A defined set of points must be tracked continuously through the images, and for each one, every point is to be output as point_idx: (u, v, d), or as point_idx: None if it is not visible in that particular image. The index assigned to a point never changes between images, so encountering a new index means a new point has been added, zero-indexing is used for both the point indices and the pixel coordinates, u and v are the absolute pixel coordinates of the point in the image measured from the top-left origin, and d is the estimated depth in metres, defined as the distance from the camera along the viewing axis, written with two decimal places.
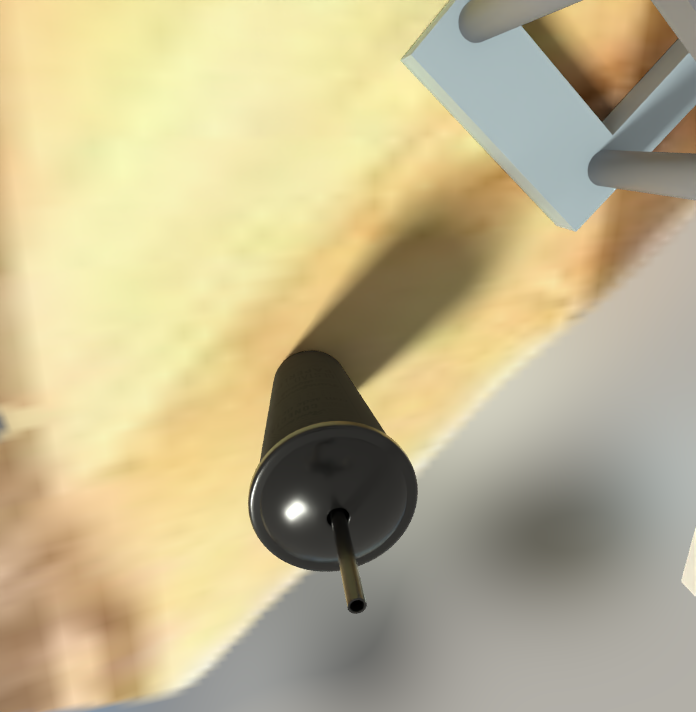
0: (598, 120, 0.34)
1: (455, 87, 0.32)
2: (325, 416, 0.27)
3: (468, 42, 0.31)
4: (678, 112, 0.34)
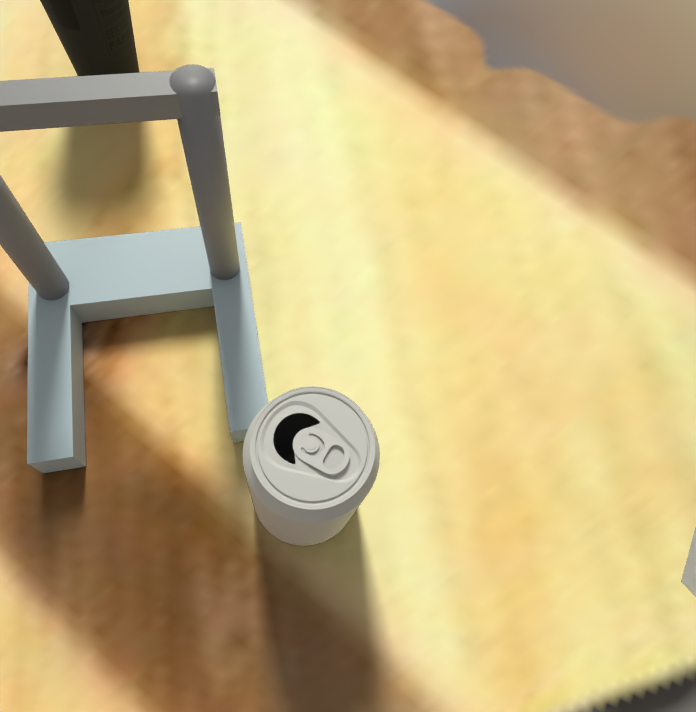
0: (90, 301, 0.39)
1: (199, 232, 0.42)
2: None
3: None
4: (35, 358, 0.37)
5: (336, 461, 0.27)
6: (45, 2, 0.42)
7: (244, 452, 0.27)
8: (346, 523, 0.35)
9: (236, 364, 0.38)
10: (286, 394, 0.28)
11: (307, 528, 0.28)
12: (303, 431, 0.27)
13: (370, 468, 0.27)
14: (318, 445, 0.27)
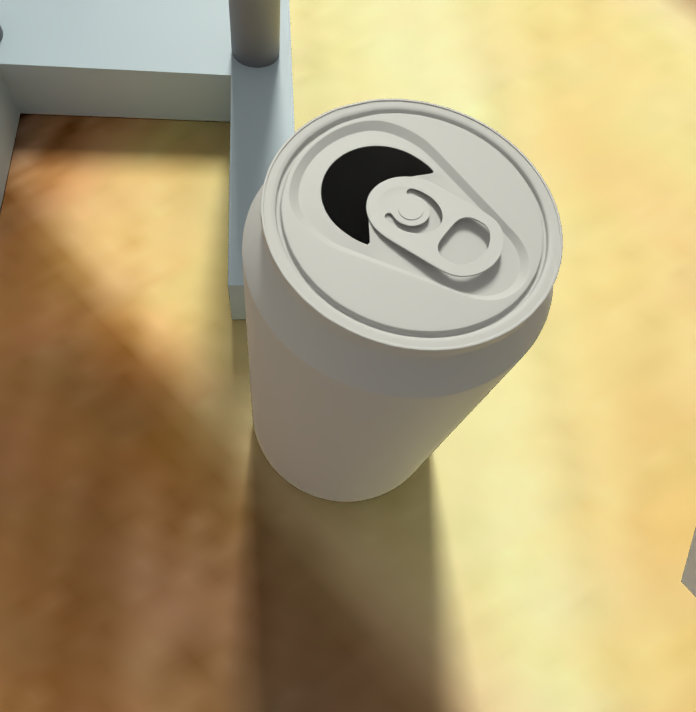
0: (30, 64, 0.24)
1: (223, 1, 0.26)
2: None
3: None
4: None
5: (469, 254, 0.11)
6: None
7: (248, 223, 0.12)
8: None
9: (254, 186, 0.22)
10: (361, 106, 0.12)
11: (367, 428, 0.13)
12: (393, 183, 0.11)
13: (550, 281, 0.11)
14: (428, 214, 0.11)
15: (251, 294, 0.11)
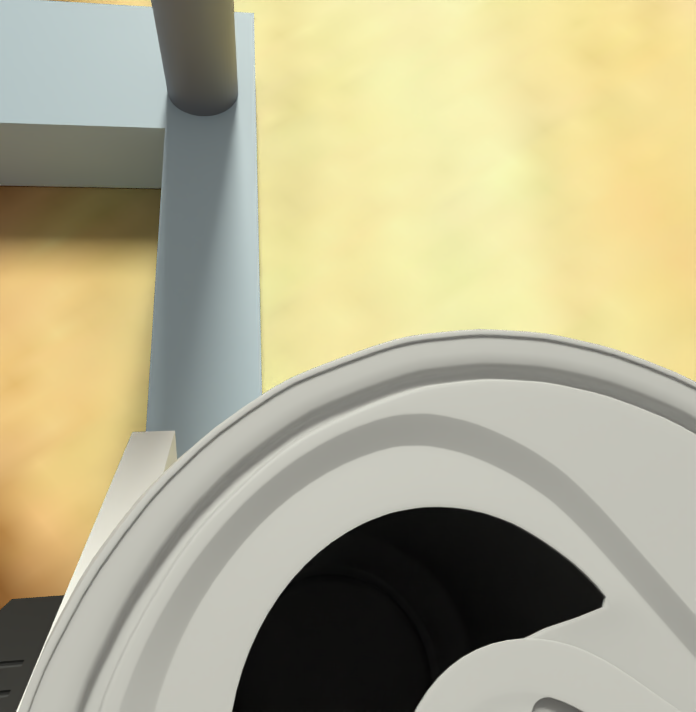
0: None
1: None
2: None
3: None
4: None
5: None
6: None
7: None
8: None
9: (194, 307, 0.14)
10: (368, 363, 0.04)
11: None
12: (485, 671, 0.03)
13: None
14: None
15: None
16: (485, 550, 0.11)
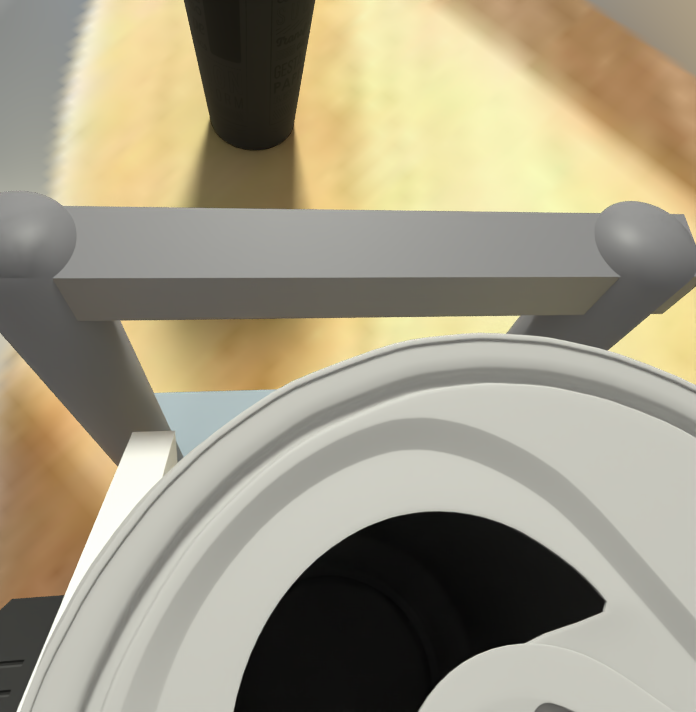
0: None
1: None
2: None
3: None
4: None
5: None
6: (197, 16, 0.27)
7: None
8: None
9: None
10: (368, 367, 0.04)
11: None
12: (483, 675, 0.03)
13: None
14: None
15: None
16: (485, 552, 0.11)
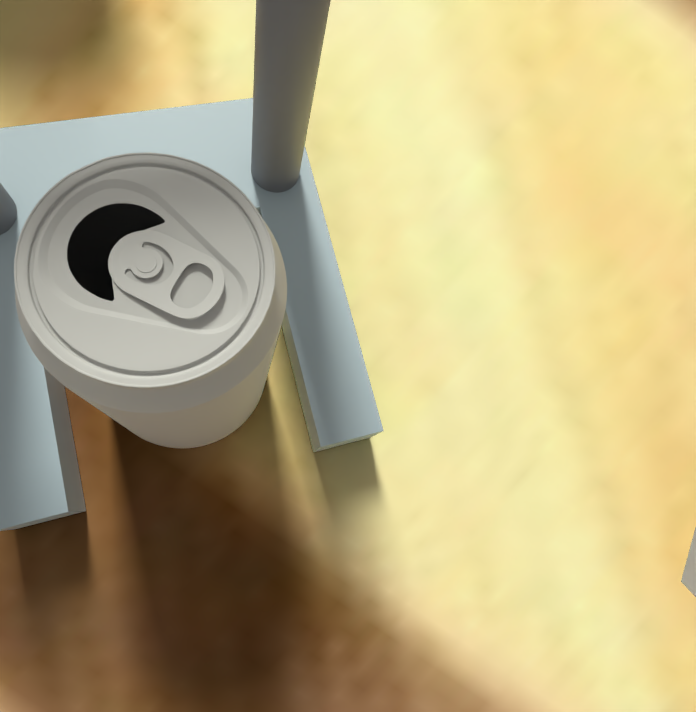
0: None
1: (226, 112, 0.25)
2: None
3: None
4: None
5: (198, 294, 0.14)
6: None
7: None
8: (249, 412, 0.22)
9: (316, 334, 0.24)
10: (94, 166, 0.14)
11: (161, 423, 0.16)
12: (130, 238, 0.14)
13: (266, 307, 0.14)
14: (161, 264, 0.14)
15: (30, 347, 0.14)
16: None
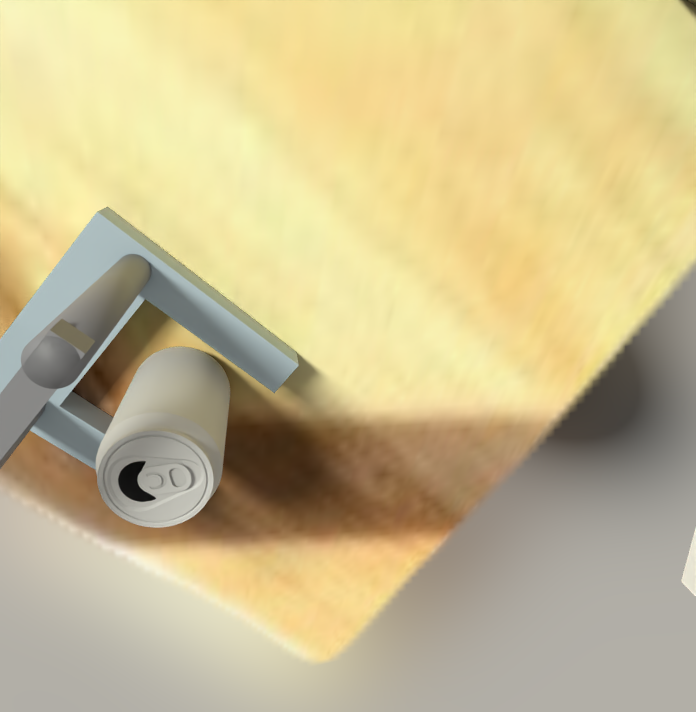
0: (69, 391, 0.38)
1: (75, 256, 0.35)
2: None
3: (115, 264, 0.35)
4: (88, 458, 0.39)
5: (182, 475, 0.30)
6: None
7: None
8: None
9: (231, 343, 0.38)
10: (102, 463, 0.29)
11: None
12: (140, 475, 0.30)
13: (209, 463, 0.30)
14: (160, 477, 0.30)
15: None
16: None
